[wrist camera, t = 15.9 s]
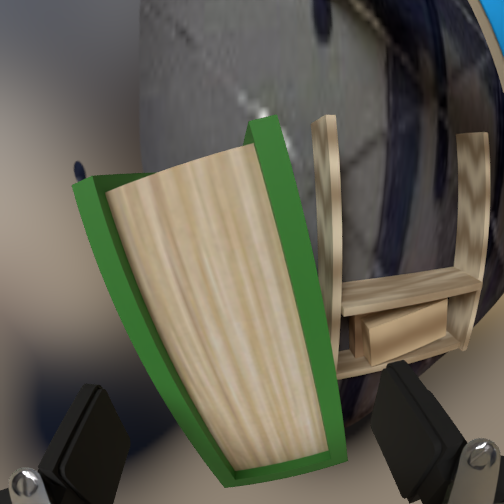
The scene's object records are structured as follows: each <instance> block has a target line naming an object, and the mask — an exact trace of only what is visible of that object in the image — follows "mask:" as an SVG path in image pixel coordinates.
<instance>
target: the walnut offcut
mask: <svg viewBox="0 0 504 504" xmlns="http://www.w3.org/2000/svg"><path fill="white" fill-rule="evenodd" d="M377 312H379V311H376V312H370V313H364V314H358V315H352V316H349V349H350V351H351V352H352V354H353V356H354V357H355V358H359V357H363V356H364V352H363V340H362V329H361V319H360V318H362V317H365V316H368V315H371V314H374V313H377Z"/></svg>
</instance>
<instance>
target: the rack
mask: <svg viewBox="0 0 504 504" xmlns="http://www.w3.org/2000/svg"><path fill="white" fill-rule="evenodd" d="M311 131H312V142H313V155H314V170H315V186H316V206H317V232H318V279H319V284H320V289H321V293H322V298H323V303H324V309H325V314H326V319H327V324H328V330H329V335H330V341H331V346H332V352H333V358H334V364H335V370H336V376H337V380H338V379H344V378H349V377H354V376H359V375H364V374H368V373H373V372H377V371H381V370H383V369H384V368H386V366H387V364H388V363H392V362H396V361H400V360H405V361H406V362H407V363H408V364H409V363H412V362H416V361H419V360H423V359H426V358H430V357H433V356H436V355H439V354H442V353H446V352H449V351H452V350H455V349H457V348H459V349H460V350H461V351H464V350H466V349H467V347H468V343H469V340H470V336H471V332H472V328H473V324H474V320H475V316H476V311H477V307H478V302H479V297H480V292H481V289H482V284H483V282H482V280H483V274H484V267H485V260H486V252H487V243H488V231H489V217H490V155H489V140H488V133H486V132H474V133H462V134H456V142H457V157H458V223H457V239H456V251H455V260H454V267H449V268H442V269H436V270H430V271H423V272H417V273H410V274H403V275H396V276H389V277H382V278H374V279H367V280H359V281H351V282H343V283H342V207H341V182H340V164H339V150H338V137H337V126H336V115H325V116H323V117H321V118H320V119H318V120H316V121H315V122H313V123H312V124H311ZM447 297H449V303H448V308H447V325H446V336H444V337H442V338H440V339H437V340H435V341H433V342H431V343H429V344H427V345H424V346H422V347H420V348H417V349H415V350H413V351H410V352H408V353H406V354H403V355H401V356H398V357H396V358H393V359H391V360H388V361H385V362H383V363H380V364H378V365H375V366H372V367H371V365H370V363H369V362H368V360H367V359H366V357H365V356H363V357H359V358H355V357H354V356H353V354H352V352H351V351H350V349H349V350H343V351H338V350H339V336H340V318H341V314H342V315H343V317H345V316H352V315H358V314H364V313H370V312H376V311H382V310H387V309H393V308H398V307H404V306H409V305H414V304H419V303H424V302H429V301H433V300H438V299H443V298H447Z"/></svg>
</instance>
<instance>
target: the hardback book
mask: <svg viewBox="0 0 504 504" xmlns="http://www.w3.org/2000/svg"><path fill="white" fill-rule="evenodd" d="M72 188H73V191H74V195H75V199H76V202H77V205H78V209H79V212H80V215H81V218H82V221H83V224H84V228H85V230H86V234H87V236H88V239H89V242H90V245H91V248H92V250H93V253H94V256H95V259H96V261H97V264H98V267H99V269H100V272H101V274H102V277H103V279H104V282H105V284H106V287H107V289H108V291H109V294H110V296H111V298H112V301H113V303H114V305H115V308H116V310H117V312H118V314H119V316H120V318H121V320H122V323H123V325H124V327H125V329H126V331H127V333H128V335H129V337H130V339H131V341H132V343H133V345H134V347H135V349H136V351H137V353H138V355H139V357H140V359H141V361H142V363H143V365H144V366H145V368H146V370H147V372H148V374H149V376H150V377H151V379H152V381H153V383H154V384H155V386H156V388H157V390H158V391H159V393H160V395H161V397H162V398H163V400H164V401H165V403H166V405H167V406H168V408H169V410H170V411H171V413H172V414H173V416H174V418H175V419H176V421H177V422H178V424H179V425H180V427H181V428H182V430H183V432H184V433H185V434H186V436H187V438H188V439H189V440H190V442H191V443H192V445H193V446H194V448H195V449H196V450H197V452H198V453H199V455H200V456H201V457H202V459H203V460H204V462H205V463H206V464H207V466H208V467H209V468H210V470H211V471H212V472H213V474H214V475H215V476H216V477H217V479H218V480H219V481H220V483H221V484H222V485H223V486H224V488H228V487H235V486H243V485H250V484H256V483H262V482H267V481H273V480H278V479H283V478H288V477H292V476H297V475H301V474H305V473H309V472H312V471H316V470H320V469H323V468H327V467H330V466H334V465H337V464H340V463H343V462H346V461H348V459H347V449H346V441H345V432H344V424H343V417H342V410H341V403H340V396H339V389H338V383H337V376H336V370H335V364H334V358H333V352H332V346H331V341H330V335H329V330H328V324H327V319H326V314H325V309H324V303H323V298H322V293H321V289H320V284H319V279H318V274H317V270H316V265H315V260H314V256H313V251H312V247H311V243H310V238H309V234H308V230H307V226H306V221H305V217H304V213H303V209H302V205H301V201H300V197H299V193H298V189H297V185H296V181H295V178H294V174H293V170H292V166H291V163H290V159H289V155H288V152H287V148H286V145H285V141H284V138H283V134H282V131H281V127H280V124H279V120H278V117H277V115H273V116H268V117H264V118H260V119H256V120H252V121H249V122H248V126H247V130H246V134H245V139H244V143H243V146H241V147H237V148H234V149H230V150H227V151H223V152H220V153H216V154H213V155H210V156H206V157H203V158H200V159H197V160H194V161H190V162H187V163H184V164H181V165H178V166H175V167H172V168H169V169H166V170H164V171H161V172H158V173H133V174H113V175H97V176H91V177H88V178H86V179H84V180H82V181H80V182H78V183H75V184H73V185H72Z"/></svg>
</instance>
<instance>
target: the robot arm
mask: <svg viewBox="0 0 504 504" xmlns="http://www.w3.org/2000/svg"><path fill="white" fill-rule="evenodd" d="M371 428H372V431H373V433H374V435H375V437H376V439H377V442H378V444H379V446H380V448H381V450H382V453H383V455H384V457H385V459H386V461H387V464H388V466H389V468H390V471H391V473H392V475H393V478H394V480H395V482H396V484H397V486H398V489H399V491H400V494H401V496H402V497H403V498H404V499H405V498H407V499H408V501H409V503H412V502H415V501H417V500H420V499H421V501H422V503H423V504H504V456H501V455H500V450H499V448H498V446H497V445H496V444H495V443H494V442H492V441H491V440H488V439H484V438H479V439H474V440H472V441H470V442H469V443H467V441H466V440H465V439H464V437H463V436H462V434H461V433H460V431H459V430H458V428H457V427H456V426H455V424H454V423H453V421H452V420H451V419H450V417H449V416H448V414H447V413H446V412H445V410H444V409H443V408H442V406H441V405H440V403H439V402H438V401H437V399H436V398H435V397H434V395H433V394H432V393H431V392H430V391H429V390H427V389H426V387H425V386H424V385H423V383H422V382H421V381H420V380H419V378H418V377H417V375H416V374H415V373H414V371H413V370H412V369H411V367H410V366H409V365H408V363H407V362H406V361H405V360H400V361H396V362H392V363H388V364H387V366H386V368H384V369H383V370H382V374H381V378H380V383H379V388H378V392H377V396H376V401H375V405H374V409H373V413H372V416H371ZM129 448H130V438H129V436H128V434H127V432H126V430H125V428H124V426H123V424H122V422H121V421H120V419H119V417H118V414H117V413H116V410H115V408H114V406H113V404H112V402H111V400H110V398H109V396H108V393H107V392H106V390H105V389H102V387H101V386H100V385H94V384H84V385H83V386H82V388H81V389H80V391H79V393H78V395H77V396H76V398H75V400H74V401H73V403H72V405H71V407H70V408H69V410H68V412H67V413H66V415H65V417H64V419H63V421H62V422H61V424H60V426H59V428H58V430H57V431H56V433H55V435H54V437H53V439H52V441H51V443H50V444H49V446H48V448H47V450H46V452H45V454H44V456H43V458H42V460H41V462H40V464H39V466H38V468H39V470H38V472H37V471H36V470H33V469H32V468H21V469H18V470H16V471H15V472H14V473H13V474H12V475H11V477H10V478H9V482H8V487H9V488H7V489H4V490H1V491H0V504H113V502H114V499H115V495H116V492H117V488H118V484H119V481H120V478H121V474H122V471H123V467H124V464H125V461H126V457H127V454H128V451H129Z"/></svg>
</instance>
